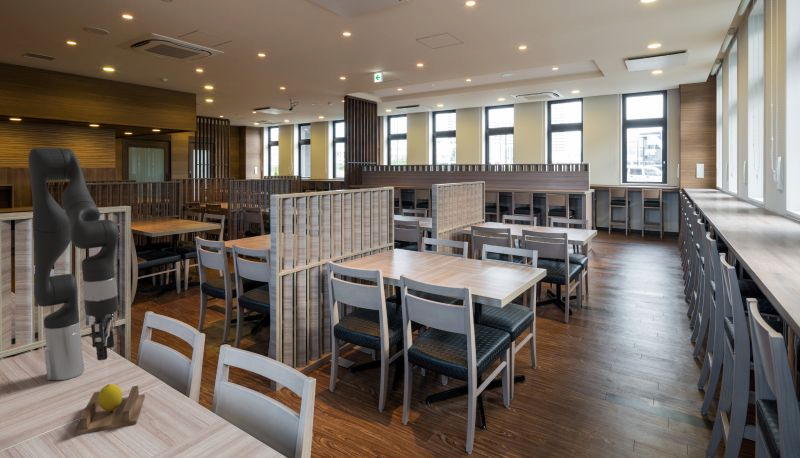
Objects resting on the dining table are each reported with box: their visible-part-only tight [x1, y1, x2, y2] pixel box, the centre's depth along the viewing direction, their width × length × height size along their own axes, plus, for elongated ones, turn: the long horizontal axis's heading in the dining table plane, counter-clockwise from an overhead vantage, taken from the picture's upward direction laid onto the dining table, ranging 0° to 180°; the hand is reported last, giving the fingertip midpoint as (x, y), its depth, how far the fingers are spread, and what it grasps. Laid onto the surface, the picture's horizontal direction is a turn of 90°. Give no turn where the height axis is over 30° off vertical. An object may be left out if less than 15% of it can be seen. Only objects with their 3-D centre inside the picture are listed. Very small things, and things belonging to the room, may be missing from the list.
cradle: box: [73, 385, 146, 436], centre depth 126 cm, size 14×15×4 cm
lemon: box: [98, 383, 123, 411], centre depth 125 cm, size 6×6×8 cm
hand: (106, 353), depth 124 cm, fingers open, 8 cm apart
